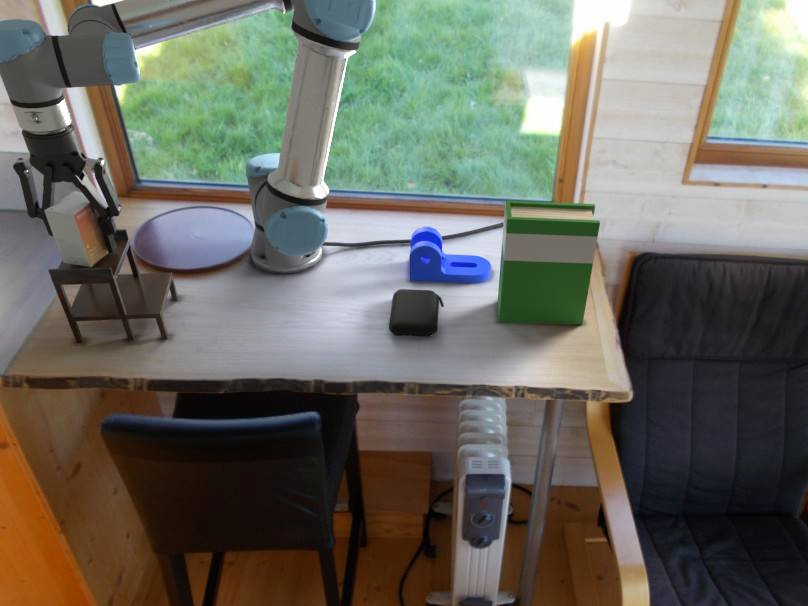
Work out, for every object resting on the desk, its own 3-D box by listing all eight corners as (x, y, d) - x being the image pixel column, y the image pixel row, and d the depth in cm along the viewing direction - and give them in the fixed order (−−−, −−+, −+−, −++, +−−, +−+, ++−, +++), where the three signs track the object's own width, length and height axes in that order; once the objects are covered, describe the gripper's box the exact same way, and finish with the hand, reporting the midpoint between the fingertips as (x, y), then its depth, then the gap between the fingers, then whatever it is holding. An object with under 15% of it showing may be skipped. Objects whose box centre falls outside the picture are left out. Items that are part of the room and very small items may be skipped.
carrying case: (442, 341, 148) (443, 299, 159) (442, 329, 146) (444, 287, 157) (388, 339, 147) (393, 297, 158) (387, 327, 145) (393, 285, 156)
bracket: (409, 280, 163) (409, 245, 157) (411, 260, 169) (411, 225, 163) (491, 283, 165) (493, 248, 159) (489, 263, 171) (492, 229, 165)
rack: (178, 297, 152) (160, 228, 141) (167, 339, 142) (146, 267, 131) (94, 300, 149) (69, 230, 138) (76, 343, 139) (48, 270, 128)
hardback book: (578, 304, 161) (594, 204, 145) (582, 324, 156) (600, 222, 140) (497, 301, 159) (505, 200, 144) (499, 322, 154) (507, 219, 138)
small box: (91, 268, 132) (72, 215, 125) (62, 263, 132) (42, 210, 125) (118, 246, 138) (101, 194, 131) (90, 241, 138) (72, 189, 131)
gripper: (-31, 135, 115) (22, 262, 130) (108, 135, 118) (144, 259, 133) (-14, 116, 120) (34, 240, 135) (118, 117, 124) (151, 237, 139)
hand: (89, 249), depth 134 cm, fingers closed on small box, 7 cm apart
